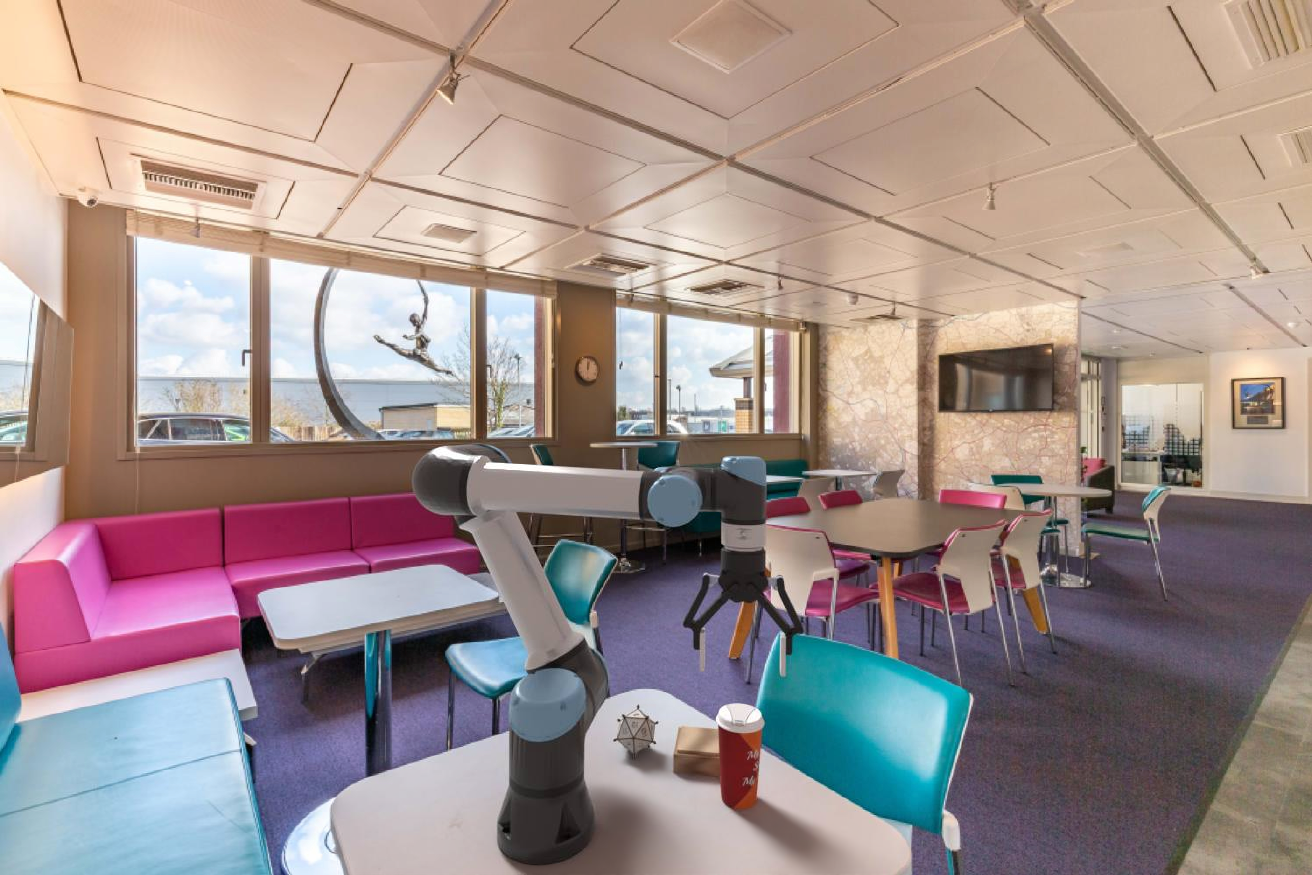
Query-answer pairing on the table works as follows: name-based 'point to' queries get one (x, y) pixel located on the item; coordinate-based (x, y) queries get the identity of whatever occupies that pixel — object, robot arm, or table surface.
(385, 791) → the table surface
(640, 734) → the game die
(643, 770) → the table surface
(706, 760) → the plinth
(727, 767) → the coffee cup
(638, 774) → the table surface
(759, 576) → the robot arm
